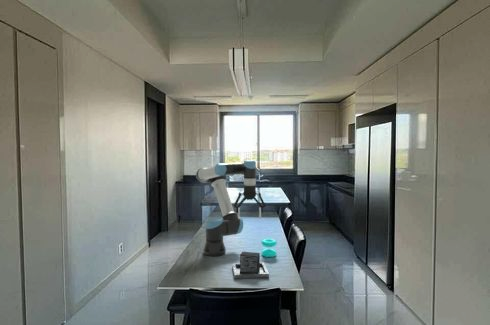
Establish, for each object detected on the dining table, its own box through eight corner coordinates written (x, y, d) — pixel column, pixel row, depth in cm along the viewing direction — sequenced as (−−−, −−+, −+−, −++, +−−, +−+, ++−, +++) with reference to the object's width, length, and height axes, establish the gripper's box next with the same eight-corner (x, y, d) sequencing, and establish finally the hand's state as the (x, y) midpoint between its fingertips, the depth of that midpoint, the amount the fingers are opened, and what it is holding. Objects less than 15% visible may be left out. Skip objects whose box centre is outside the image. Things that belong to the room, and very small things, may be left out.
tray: (234, 279, 176) (234, 274, 176) (232, 267, 193) (232, 263, 192) (268, 278, 178) (268, 273, 177) (263, 266, 195) (264, 262, 194)
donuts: (270, 243, 207) (258, 240, 213) (270, 258, 208) (258, 255, 214) (279, 240, 215) (267, 237, 221) (279, 254, 215) (267, 251, 222)
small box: (260, 270, 187) (260, 252, 186) (257, 274, 181) (257, 256, 180) (242, 268, 190) (242, 250, 189) (239, 272, 183) (239, 254, 183)
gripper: (230, 185, 198) (230, 219, 200) (270, 185, 201) (269, 219, 202) (229, 184, 206) (229, 217, 207) (268, 184, 208) (267, 216, 210)
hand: (249, 218), depth 205 cm, fingers open, 13 cm apart
